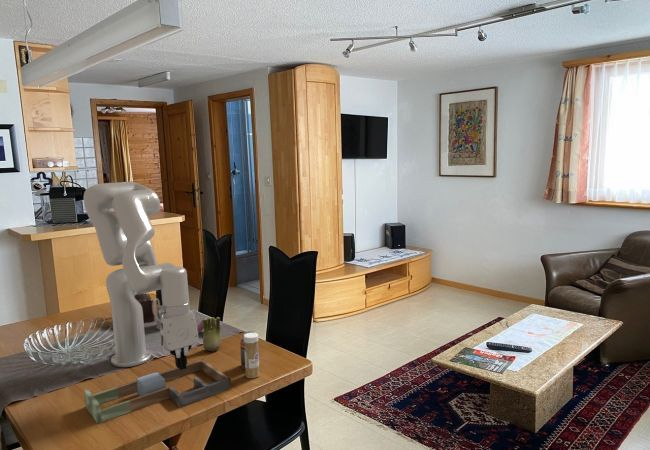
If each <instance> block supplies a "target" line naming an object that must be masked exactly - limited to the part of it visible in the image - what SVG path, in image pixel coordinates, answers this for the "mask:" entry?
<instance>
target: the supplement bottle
mask: <svg viewBox="0 0 650 450" xmlns="http://www.w3.org/2000/svg"><path fill="white" fill-rule="evenodd" d="M247 333H256V332H255V331H252V330H251V331H250V330H249V331H248V330H247V331H245V332H243V333H242V339H241V340H240V343H239V344H240V345H239V346H240V367H241V369H244V370H245V354H244V350H245V349H244V338H243V336H244V335H245V334H247ZM258 352H259V353H260V341H259V340H258Z"/></svg>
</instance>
